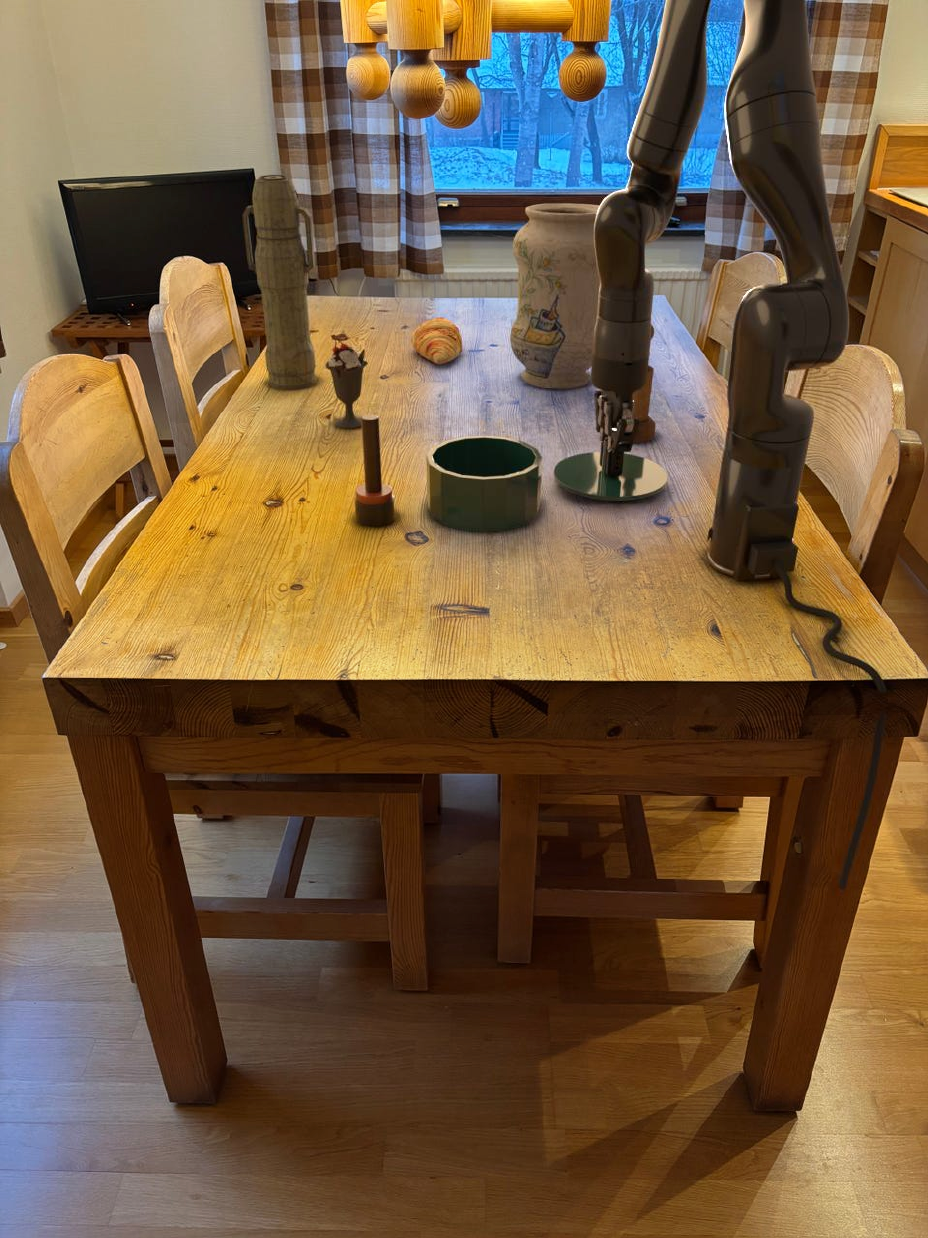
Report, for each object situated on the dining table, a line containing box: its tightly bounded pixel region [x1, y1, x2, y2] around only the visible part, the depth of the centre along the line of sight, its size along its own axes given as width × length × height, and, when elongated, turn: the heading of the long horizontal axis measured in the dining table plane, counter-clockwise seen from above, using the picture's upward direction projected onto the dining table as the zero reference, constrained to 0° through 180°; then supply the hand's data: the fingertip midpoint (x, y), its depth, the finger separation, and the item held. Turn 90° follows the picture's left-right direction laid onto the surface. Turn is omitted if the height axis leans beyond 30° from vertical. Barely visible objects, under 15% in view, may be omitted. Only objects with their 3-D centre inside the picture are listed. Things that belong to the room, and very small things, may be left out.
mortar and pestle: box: [632, 323, 657, 444], centre depth 151 cm, size 7×6×18 cm
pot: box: [425, 435, 543, 533], centre depth 130 cm, size 15×15×8 cm
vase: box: [509, 203, 600, 390], centre depth 173 cm, size 18×18×30 cm
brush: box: [354, 413, 396, 528], centre depth 126 cm, size 5×5×14 cm
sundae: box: [325, 334, 369, 430], centre depth 157 cm, size 7×7×15 cm
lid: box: [552, 437, 669, 502], centre depth 137 cm, size 16×16×6 cm
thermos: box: [241, 174, 317, 390], centre depth 170 cm, size 9×12×35 cm
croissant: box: [410, 317, 463, 365], centre depth 194 cm, size 21×10×8 cm, turn 7°
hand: (610, 470), depth 137 cm, fingers closed on lid, 2 cm apart
